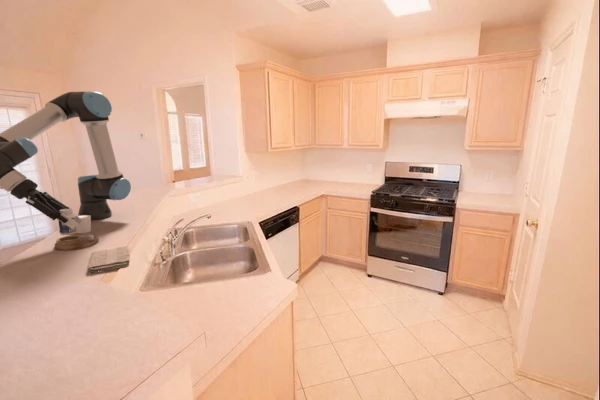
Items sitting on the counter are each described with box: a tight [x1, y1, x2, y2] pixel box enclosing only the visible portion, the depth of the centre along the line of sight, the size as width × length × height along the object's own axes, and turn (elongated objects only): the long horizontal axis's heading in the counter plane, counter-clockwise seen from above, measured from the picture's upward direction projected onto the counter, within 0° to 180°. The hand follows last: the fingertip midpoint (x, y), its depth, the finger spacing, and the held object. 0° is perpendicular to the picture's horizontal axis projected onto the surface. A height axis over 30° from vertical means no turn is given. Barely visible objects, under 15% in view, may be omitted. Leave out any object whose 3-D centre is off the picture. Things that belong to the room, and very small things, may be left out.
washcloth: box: [86, 246, 131, 274], centre depth 100 cm, size 12×18×3 cm, turn 33°
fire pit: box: [54, 234, 99, 251], centre depth 115 cm, size 14×14×3 cm
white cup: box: [76, 215, 92, 234], centre depth 131 cm, size 7×7×7 cm
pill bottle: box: [57, 208, 78, 236], centre depth 113 cm, size 5×5×10 cm
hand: (77, 224), depth 115 cm, fingers closed on pill bottle, 5 cm apart
